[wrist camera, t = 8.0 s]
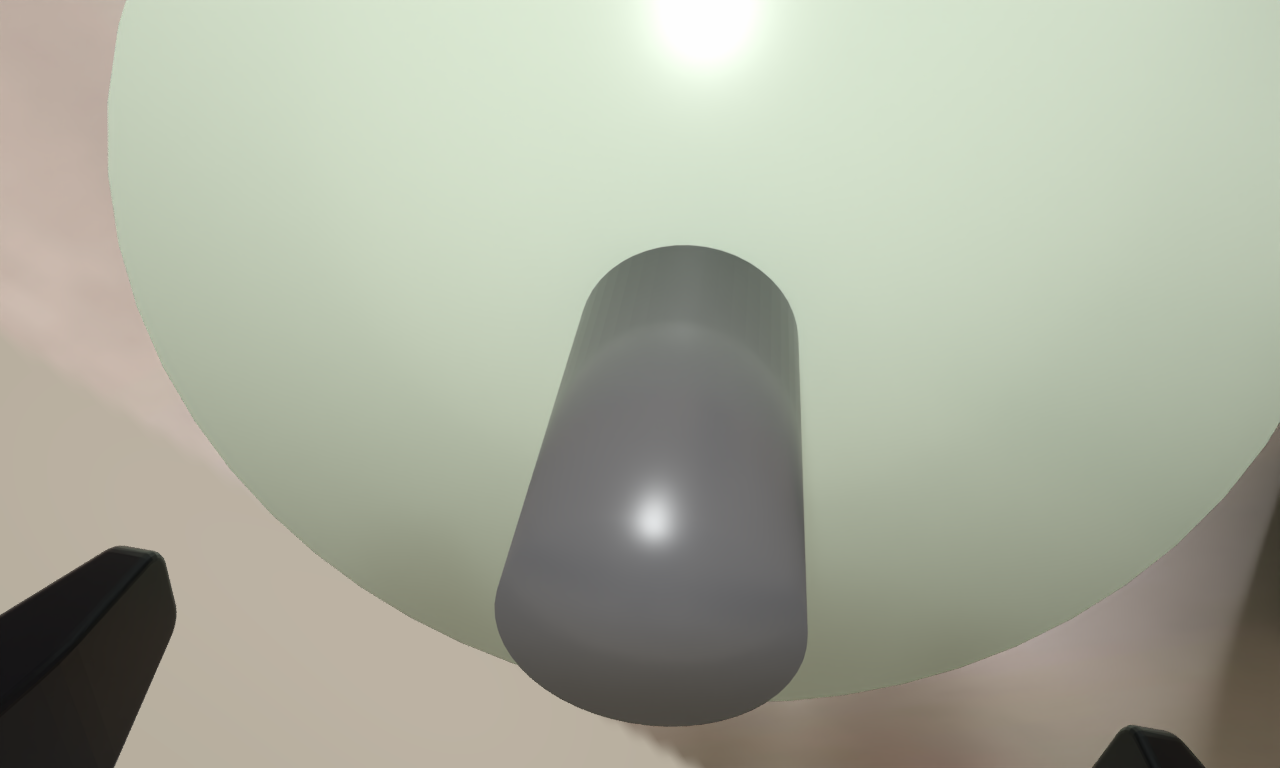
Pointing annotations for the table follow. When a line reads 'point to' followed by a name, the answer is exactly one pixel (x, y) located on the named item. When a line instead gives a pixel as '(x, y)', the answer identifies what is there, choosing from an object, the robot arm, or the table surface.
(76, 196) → the table surface
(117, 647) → the robot arm
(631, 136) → the lid
